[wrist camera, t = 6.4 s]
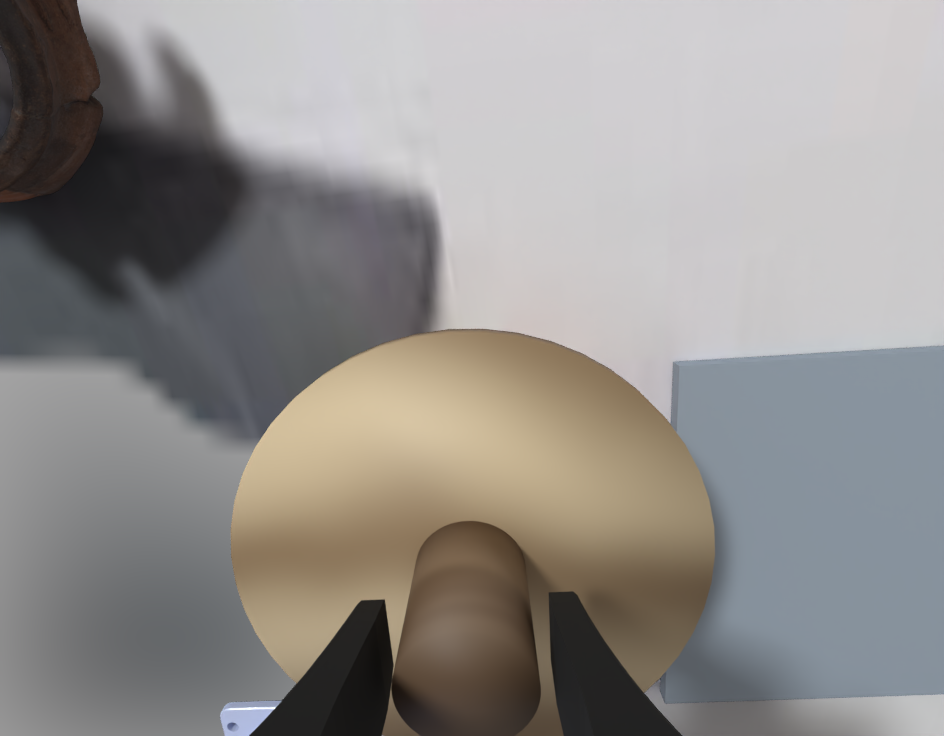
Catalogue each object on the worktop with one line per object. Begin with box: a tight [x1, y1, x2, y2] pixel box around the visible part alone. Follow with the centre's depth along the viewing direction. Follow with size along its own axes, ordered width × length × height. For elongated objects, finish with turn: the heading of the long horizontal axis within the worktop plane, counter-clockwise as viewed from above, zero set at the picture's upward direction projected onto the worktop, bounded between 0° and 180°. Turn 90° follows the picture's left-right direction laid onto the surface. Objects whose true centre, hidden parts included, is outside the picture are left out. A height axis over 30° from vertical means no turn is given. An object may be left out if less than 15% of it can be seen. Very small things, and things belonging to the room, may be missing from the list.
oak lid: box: [231, 329, 715, 736], centre depth 13 cm, size 14×14×5 cm
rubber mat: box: [660, 346, 944, 704], centre depth 19 cm, size 15×15×1 cm
